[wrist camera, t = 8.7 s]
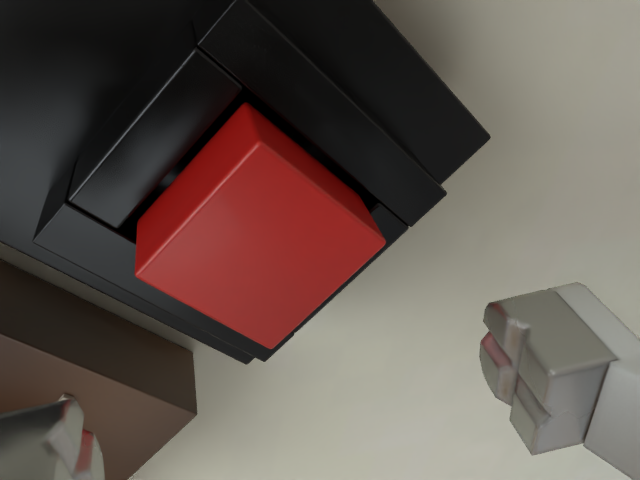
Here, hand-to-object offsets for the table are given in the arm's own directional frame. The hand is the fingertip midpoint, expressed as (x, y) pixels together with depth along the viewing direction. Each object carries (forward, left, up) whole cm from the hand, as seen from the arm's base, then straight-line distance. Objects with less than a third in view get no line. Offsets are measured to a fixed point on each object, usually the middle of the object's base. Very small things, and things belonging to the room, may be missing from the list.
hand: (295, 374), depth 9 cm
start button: (0, 0, -5) cm, 5 cm away
